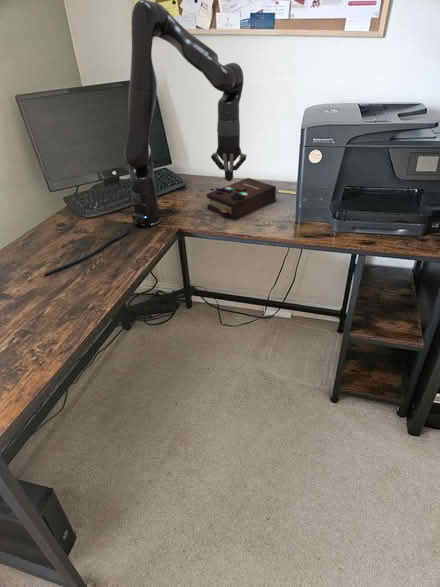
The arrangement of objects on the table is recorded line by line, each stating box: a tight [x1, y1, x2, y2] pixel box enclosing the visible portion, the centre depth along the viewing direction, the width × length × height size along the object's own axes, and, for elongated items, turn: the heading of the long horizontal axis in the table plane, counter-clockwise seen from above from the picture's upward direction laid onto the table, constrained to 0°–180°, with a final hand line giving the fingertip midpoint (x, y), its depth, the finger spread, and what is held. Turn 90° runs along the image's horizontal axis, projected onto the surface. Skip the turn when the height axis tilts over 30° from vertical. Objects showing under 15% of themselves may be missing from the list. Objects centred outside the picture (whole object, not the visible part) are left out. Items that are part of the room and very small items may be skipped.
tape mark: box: [277, 189, 297, 195], centre depth 184 cm, size 2×9×1 cm, turn 64°
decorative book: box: [206, 177, 277, 221], centre depth 173 cm, size 19×8×30 cm
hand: (229, 180), depth 146 cm, fingers closed
